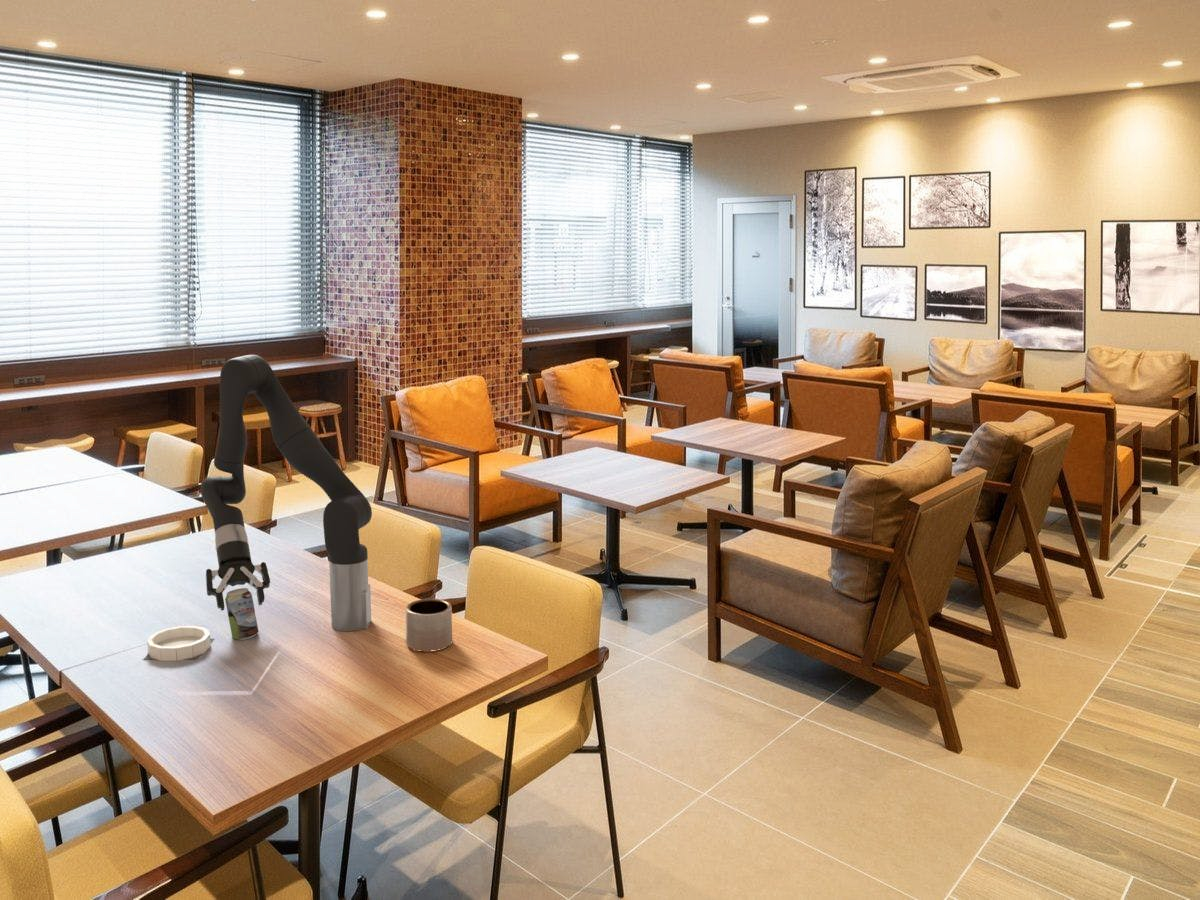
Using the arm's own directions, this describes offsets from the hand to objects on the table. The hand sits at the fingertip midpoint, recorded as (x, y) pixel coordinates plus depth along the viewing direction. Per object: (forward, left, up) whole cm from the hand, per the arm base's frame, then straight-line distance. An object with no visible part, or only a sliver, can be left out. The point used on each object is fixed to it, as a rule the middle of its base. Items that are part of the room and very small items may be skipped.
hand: (241, 606), depth 228 cm
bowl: (+12, +7, -8) cm, 16 cm away
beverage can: (0, -1, -9) cm, 9 cm away
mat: (+12, +7, -8) cm, 17 cm away
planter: (-45, +3, -9) cm, 45 cm away
